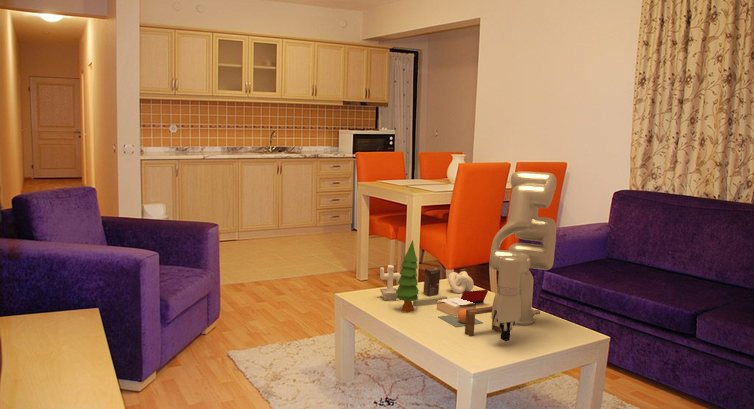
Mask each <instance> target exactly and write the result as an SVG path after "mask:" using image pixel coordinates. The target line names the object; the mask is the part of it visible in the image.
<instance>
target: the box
mask: <svg viewBox="0 0 754 409" xmlns="http://www.w3.org/2000/svg"><path fill="white" fill-rule="evenodd" d="M440 281H441V269H440V268H437V267H429V268H428V267H427V268H425V269H424V280H423V290H422V291H423V295H424V296H427V297H432V296H439V291H440Z"/></svg>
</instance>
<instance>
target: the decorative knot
mask: <svg viewBox="0 0 754 409" xmlns="http://www.w3.org/2000/svg"><path fill="white" fill-rule="evenodd" d="M447 282H448V285H449V288H450V289H451V291H453V293H455V294H463V293H464V292H468V291H473V288H474V287H475V286H474V280H473V279H472V277H471V276H470V275H468V272H467V271H465V270H464V271H460V272H459V273H458V272H455V271H453V272H450V273H449V274H448V281H447Z"/></svg>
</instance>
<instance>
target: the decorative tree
mask: <svg viewBox="0 0 754 409" xmlns="http://www.w3.org/2000/svg"><path fill="white" fill-rule="evenodd" d="M417 262H418V258H417V254H416V251H415V246H414V240H413V239H412V240H411V243H410V245H409V247H408V249H407V251H406V254H405V256H404V257H403V261H402V263H401V265H400V266H401V270H400V272H399V273H400V275H401V277H400V279H399V281H398V284H400V285H398V287H397V288H396V289H397V291H396V293H398V295H397V299H398V300H399V301H404V302H403V304H402V307H401V308H400V311H401V312H404V313H413V312H414V311H415V306H413V301H415V300H418V299H419V296H418V295H419V288H418V279H417V277H418V273H417V269H418V263H417Z"/></svg>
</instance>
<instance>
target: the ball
mask: <svg viewBox="0 0 754 409" xmlns="http://www.w3.org/2000/svg"><path fill="white" fill-rule="evenodd" d="M466 310H468V309H467V308H462V309H460V310H459V311H458V313H457V314H458V319H459V320H460V321H461V322H462V323H465V321H466Z"/></svg>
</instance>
